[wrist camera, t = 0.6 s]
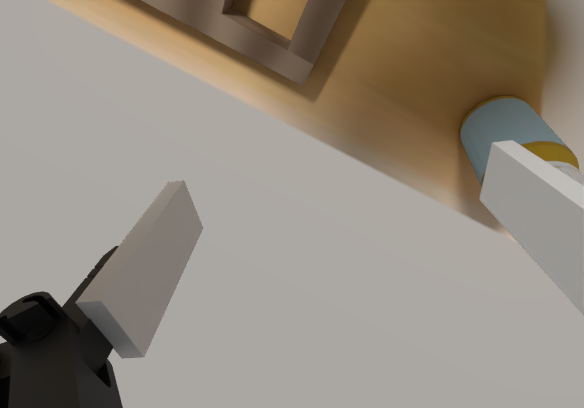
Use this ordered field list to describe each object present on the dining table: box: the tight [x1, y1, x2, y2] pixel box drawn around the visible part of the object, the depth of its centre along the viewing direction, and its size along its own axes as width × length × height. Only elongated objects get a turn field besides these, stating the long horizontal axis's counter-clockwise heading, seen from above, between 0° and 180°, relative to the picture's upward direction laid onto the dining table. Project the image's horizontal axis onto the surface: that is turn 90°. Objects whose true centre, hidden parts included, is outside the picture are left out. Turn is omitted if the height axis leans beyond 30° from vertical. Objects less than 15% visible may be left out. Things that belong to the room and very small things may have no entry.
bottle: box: [460, 96, 584, 186], centre depth 29 cm, size 7×7×15 cm
